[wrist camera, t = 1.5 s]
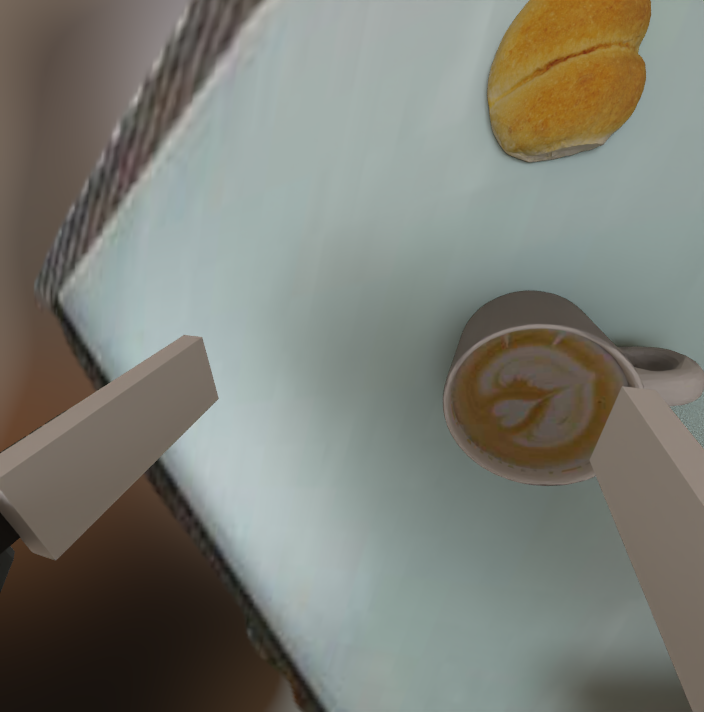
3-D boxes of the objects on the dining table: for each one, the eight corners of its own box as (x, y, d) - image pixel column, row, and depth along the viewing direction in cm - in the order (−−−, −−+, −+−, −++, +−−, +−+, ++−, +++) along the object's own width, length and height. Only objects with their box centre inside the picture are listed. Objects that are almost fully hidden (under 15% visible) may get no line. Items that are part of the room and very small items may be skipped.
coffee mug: (454, 397, 31) (436, 464, 23) (465, 287, 28) (449, 315, 19) (633, 426, 27) (699, 524, 18) (674, 297, 23) (780, 341, 14)
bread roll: (646, -41, 19) (680, -101, 15) (632, 143, 22) (658, 127, 18) (485, 20, 22) (482, -17, 19) (489, 174, 25) (488, 165, 21)
